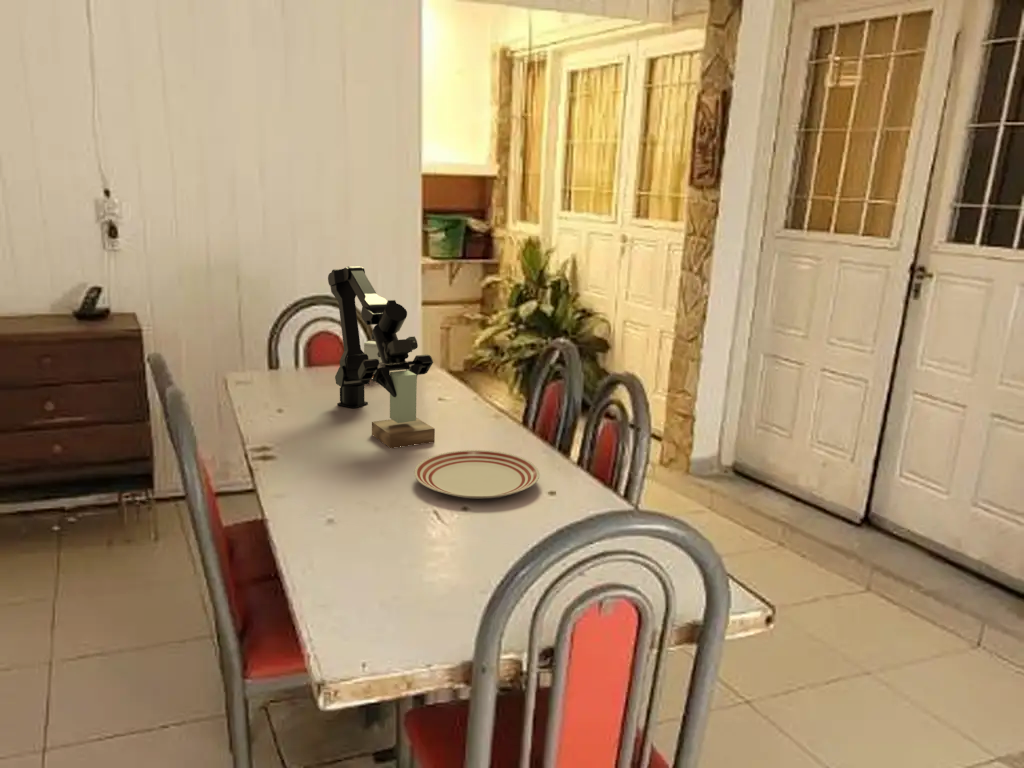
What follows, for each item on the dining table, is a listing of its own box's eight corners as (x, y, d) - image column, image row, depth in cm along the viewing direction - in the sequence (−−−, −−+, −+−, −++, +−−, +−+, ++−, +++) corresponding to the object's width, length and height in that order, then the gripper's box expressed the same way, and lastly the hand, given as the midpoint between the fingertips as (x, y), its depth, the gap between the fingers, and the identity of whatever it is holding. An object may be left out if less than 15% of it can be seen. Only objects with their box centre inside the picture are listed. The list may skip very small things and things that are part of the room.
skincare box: (363, 378, 269) (363, 342, 266) (369, 375, 273) (369, 340, 270) (380, 380, 267) (380, 344, 264) (386, 377, 271) (386, 342, 268)
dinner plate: (526, 514, 165) (527, 499, 164) (396, 499, 170) (396, 484, 169) (548, 470, 191) (548, 456, 190) (435, 458, 196) (435, 444, 195)
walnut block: (371, 436, 211) (371, 421, 210) (414, 430, 217) (414, 416, 216) (390, 450, 201) (390, 434, 200) (434, 443, 207) (434, 428, 206)
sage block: (407, 415, 211) (408, 370, 208) (416, 420, 207) (416, 374, 204) (389, 417, 208) (390, 372, 205) (397, 423, 204) (398, 376, 201)
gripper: (361, 328, 200) (379, 382, 194) (430, 323, 210) (449, 375, 204) (350, 353, 209) (366, 405, 202) (417, 347, 218) (434, 397, 212)
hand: (405, 395), depth 205 cm, fingers closed on sage block, 5 cm apart
